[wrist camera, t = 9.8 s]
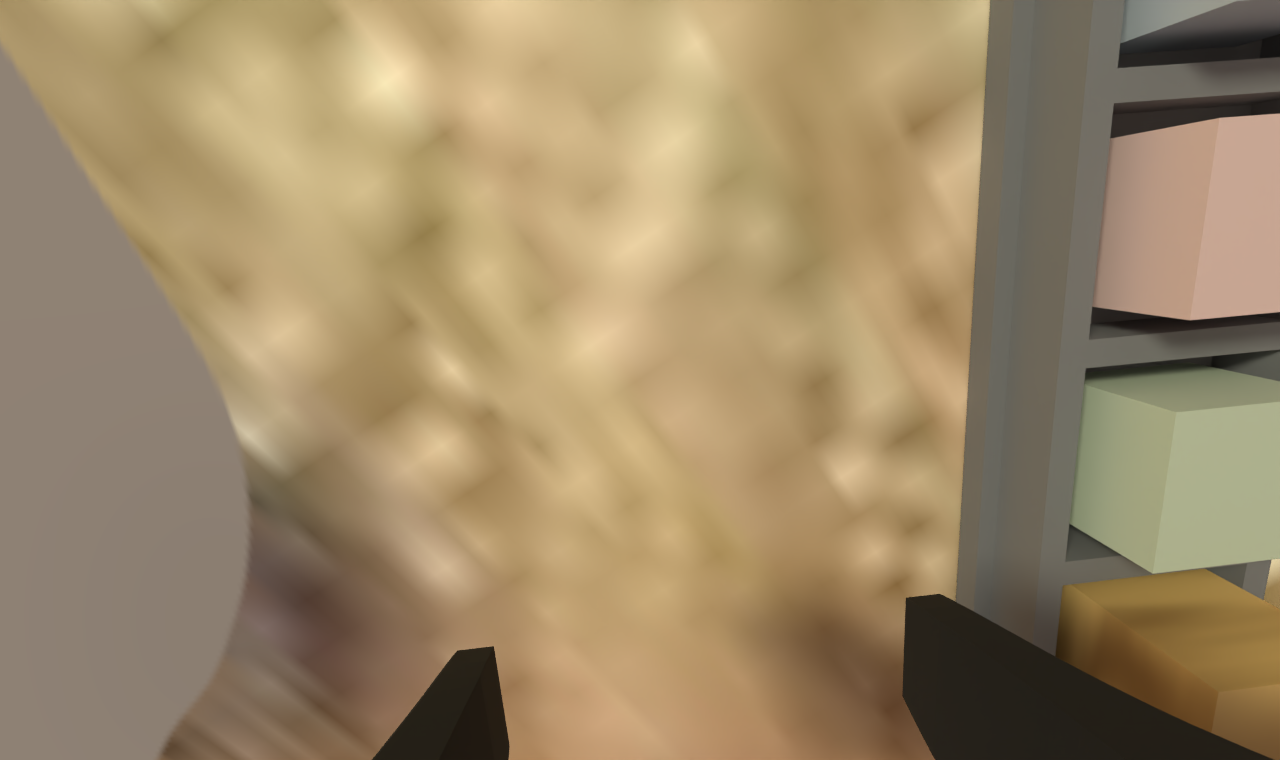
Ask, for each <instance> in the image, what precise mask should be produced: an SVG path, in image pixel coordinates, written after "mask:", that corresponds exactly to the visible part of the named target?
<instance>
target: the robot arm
mask: <svg viewBox="0 0 1280 760" xmlns="http://www.w3.org/2000/svg"><path fill="white" fill-rule="evenodd" d="M903 698H904V700H905V702H906V704H907V706H908V708H909V710H910V712H911V714H912V716H913V718H914V720H915V722H916V724H917V726H918V728H919V730H920V732H921V734H922V736H923V738H924V740H925V742H926V744H927V745H928V747H929V749H930V751H931V753H932V755H933V757H934V758H935V760H1274V759H1272V758H1269V757H1267V756H1264V755H1262V754H1259V753H1257V752H1254V751H1252V750H1250V749H1247V748H1245V747H1243V746H1241V745H1238V744H1236V743H1234V742H1231V741H1229V740H1227V739H1224V738H1222V737H1220V736H1217V735H1215V734H1213V733H1210V732H1208V731H1206V730H1204V729H1201V728H1199V727H1197V726H1194V725H1192V724H1190V723H1188V722H1185V721H1183V720H1181V719H1179V718H1177V717H1175V716H1172V715H1170V714H1168V713H1166V712H1164V711H1162V710H1160V709H1157V708H1155V707H1153V706H1151V705H1149V704H1147V703H1145V702H1143V701H1141V700H1139V699H1137V698H1135V697H1133V696H1131V695H1129V694H1127V693H1125V692H1123V691H1121V690H1119V689H1117V688H1115V687H1113V686H1111V685H1109V684H1107V683H1105V682H1103V681H1101V680H1099V679H1097V678H1095V677H1093V676H1091V675H1089V674H1087V673H1086V672H1084V671H1082V670H1080V669H1078V668H1076V667H1074V666H1072V665H1070V664H1068V663H1067V662H1065V661H1063V660H1061V659H1059V658H1057V657H1055V656H1054V655H1052V654H1050V653H1048V652H1046V651H1044V650H1043V649H1041V648H1039V647H1037V646H1035V645H1033V644H1032V643H1030V642H1028V641H1026V640H1024V639H1023V638H1021V637H1019V636H1017V635H1015V634H1014V633H1012V632H1010V631H1008V630H1006V629H1005V628H1003V627H1001V626H999V625H997V624H996V623H994V622H992V621H990V620H988V619H987V618H985V617H983V616H981V615H979V614H978V613H976V612H974V611H972V610H970V609H968V608H966V607H965V606H963V605H961V604H959V603H957V602H955V601H953V600H951V599H949V598H947V597H945V596H943V595H941V594H935V595H926V596H918V597H909V598H906V612H905V640H904V668H903ZM508 757H509V740H508V733H507V727H506V721H505V714H504V708H503V702H502V695H501V689H500V683H499V677H498V670H497V664H496V658H495V651H494V646H493V647H485V648H476V649H468V650H459V651H457V652H456V653H455V654H454V655H453V656H452V658H451V659H450V660H449V662H448V663H447V664H446V665H445V667H444V668H443V669H442V671H441V672H440V673H439V675H438V676H437V677H436V679H435V680H434V681H433V683H432V684H431V685H430V687H429V688H428V689H427V691H426V692H425V693H424V695H423V696H422V697H421V699H420V700H419V701H418V702H417V704H416V705H415V706H414V708H413V709H412V710H411V712H410V713H409V714H408V716H407V717H406V718H405V719H404V721H403V722H402V723H401V724H400V726H399V727H398V728H397V729H396V731H395V732H394V733H393V734H392V736H391V737H390V738H389V739H388V741H387V742H386V743H385V744H384V746H383V747H382V748H381V749H380V751H379V752H378V753H377V754H376V756H375V757H374V758H373V759H372V760H508Z"/></svg>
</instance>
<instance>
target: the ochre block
mask: <svg viewBox="0 0 1280 760" xmlns="http://www.w3.org/2000/svg"><path fill="white" fill-rule="evenodd" d="M1055 657H1057V658H1059V659H1061V660H1063V661H1065V662H1067V663H1068V664H1070V665H1072V666H1074V667H1076V668H1078V669H1080V670H1082V671H1084V672H1086V673H1087V674H1089V675H1091V676H1093V677H1095V678H1097V679H1099V680H1101V681H1103V682H1105V683H1107V684H1109V685H1111V686H1113V687H1115V688H1117V689H1119V690H1121V691H1123V692H1125V693H1127V694H1129V695H1131V696H1133V697H1135V698H1137V699H1139V700H1141V701H1143V702H1145V703H1147V704H1149V705H1151V706H1153V707H1155V708H1157V709H1160V710H1162V711H1164V712H1166V713H1168V714H1170V715H1172V716H1175V717H1177V718H1179V719H1181V720H1183V721H1185V722H1188V723H1190V724H1192V725H1194V726H1197V727H1199V728H1201V729H1204V730H1206V731H1208V732H1210V733H1213V734H1215V735H1217V736H1220V737H1222V738H1224V739H1227V740H1229V741H1231V742H1234V743H1236V744H1238V745H1241V746H1243V747H1245V748H1247V749H1250V750H1252V751H1254V752H1257V753H1259V754H1262V755H1264V756H1267V757H1269V758H1272V759H1274V760H1280V609H1278V608H1277V607H1275V606H1273V605H1271V604H1269V603H1267V602H1266V601H1264V600H1262V599H1260V598H1258V597H1256V596H1254V595H1253V594H1251V593H1249V592H1247V591H1245V590H1243V589H1242V588H1240V587H1238V586H1236V585H1234V584H1232V583H1230V582H1229V581H1227V580H1225V579H1223V578H1221V577H1219V576H1218V575H1216V574H1214V573H1212V572H1210V571H1208V570H1207V569H1197V570H1189V571H1180V572H1172V573H1164V574H1155V575H1147V576H1139V577H1130V578H1122V579H1113V580H1105V581H1097V582H1088V583H1080V584H1071V585H1063V588H1062V597H1061V607H1060V616H1059V625H1058V635H1057V644H1056V654H1055Z"/></svg>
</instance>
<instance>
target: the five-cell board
mask: <svg viewBox="0 0 1280 760" xmlns="http://www.w3.org/2000/svg"><path fill="white" fill-rule="evenodd" d="M1272 559H1280V0H990V17H989V35H988V52H987V69H986V87H985V104H984V122H983V139H982V156H981V174H980V191H979V209H978V226H977V243H976V261H975V278H974V296H973V313H972V330H971V348H970V365H969V383H968V400H967V417H966V435H965V452H964V470H963V487H962V504H961V522H960V539H959V557H958V574H957V592H956V602H957V603H959V604H961V605H963V606H965V607H966V608H968V609H970V610H972V611H974V612H976V613H978V614H979V615H981V616H983V617H985V618H987V619H988V620H990V621H992V622H994V623H996V624H997V625H999V626H1001V627H1003V628H1005V629H1006V630H1008V631H1010V632H1012V633H1014V634H1015V635H1017V636H1019V637H1021V638H1023V639H1024V640H1026V641H1028V642H1030V643H1032V644H1033V645H1035V646H1037V647H1039V648H1041V649H1043V650H1044V651H1046V652H1048V653H1050V654H1052V655H1054V656H1055V654H1056V644H1057V635H1058V625H1059V616H1060V607H1061V597H1062V588H1063V585H1071V584H1080V583H1088V582H1097V581H1105V580H1113V579H1122V578H1130V577H1139V576H1147V575H1155V574H1164V573H1172V572H1180V571H1189V570H1197V569H1207V570H1208V571H1210V572H1212V573H1214V574H1216V575H1218V576H1219V577H1221V578H1223V579H1225V580H1227V581H1229V582H1230V583H1232V584H1234V585H1236V586H1238V587H1240V588H1242V589H1243V590H1245V591H1247V592H1249V593H1251V594H1253V595H1254V596H1256V597H1258V598H1260V599H1262V600H1263V599H1264V594H1265V589H1266V584H1267V579H1268V574H1269V569H1270V564H1271V560H1272Z"/></svg>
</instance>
